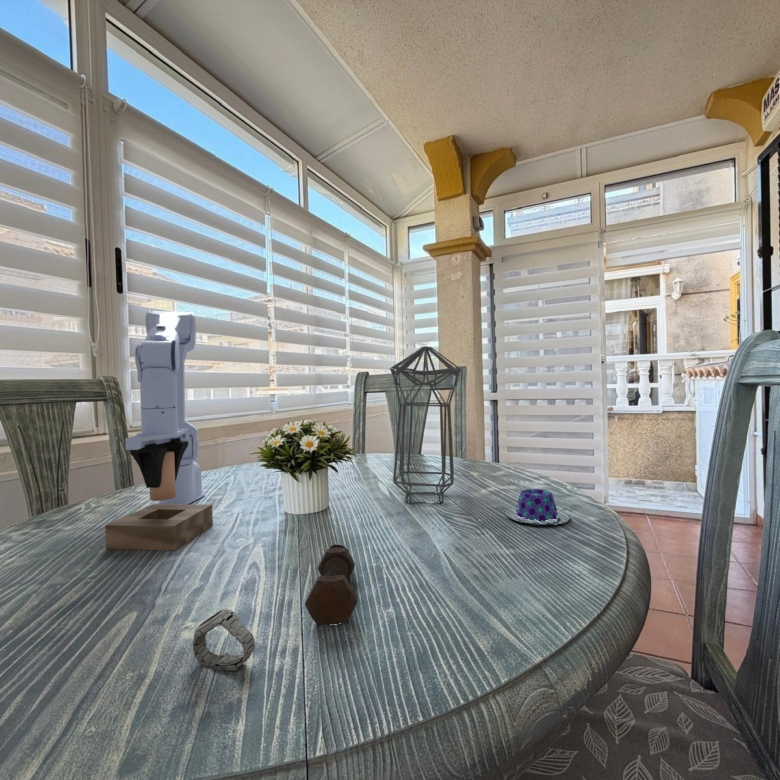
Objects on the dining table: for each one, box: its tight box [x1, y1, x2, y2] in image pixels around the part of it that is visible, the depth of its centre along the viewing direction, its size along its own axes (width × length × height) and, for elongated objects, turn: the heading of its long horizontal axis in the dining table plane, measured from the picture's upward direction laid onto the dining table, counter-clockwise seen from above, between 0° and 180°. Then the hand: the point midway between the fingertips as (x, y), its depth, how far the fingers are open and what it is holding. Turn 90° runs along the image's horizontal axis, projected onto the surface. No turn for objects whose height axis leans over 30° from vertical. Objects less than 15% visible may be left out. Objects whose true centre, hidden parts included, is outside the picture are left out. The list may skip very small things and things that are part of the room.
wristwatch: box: [192, 608, 256, 672], centre depth 40 cm, size 4×6×5 cm, turn 73°
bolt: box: [304, 544, 359, 626], centre depth 53 cm, size 6×5×15 cm
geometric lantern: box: [388, 345, 462, 504], centre depth 95 cm, size 16×16×35 cm
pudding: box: [516, 488, 558, 521], centre depth 80 cm, size 12×12×5 cm
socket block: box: [104, 503, 214, 552], centre depth 74 cm, size 12×12×4 cm
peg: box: [149, 451, 176, 502], centre depth 74 cm, size 4×4×8 cm
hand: (161, 484), depth 74 cm, fingers closed on peg, 4 cm apart
